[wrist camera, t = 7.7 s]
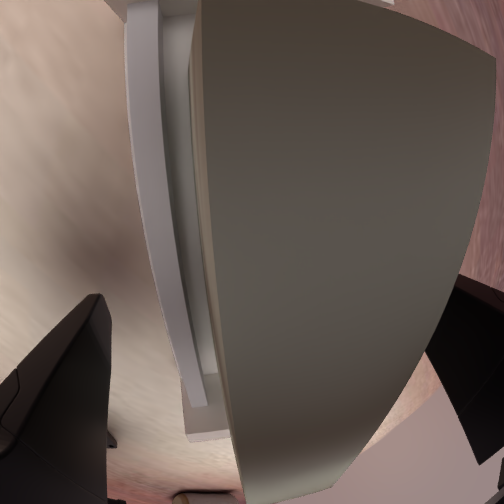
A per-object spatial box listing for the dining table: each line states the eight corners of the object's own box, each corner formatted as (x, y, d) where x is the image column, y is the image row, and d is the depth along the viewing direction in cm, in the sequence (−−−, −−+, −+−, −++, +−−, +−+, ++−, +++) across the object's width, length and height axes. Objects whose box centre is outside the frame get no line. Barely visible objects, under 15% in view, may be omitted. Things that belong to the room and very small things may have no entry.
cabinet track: (297, 349, 18) (326, 416, 14) (182, 367, 17) (189, 442, 12) (316, 7, 9) (391, -25, 4) (132, 8, 7) (99, -42, 3)
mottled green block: (274, 339, 15) (331, 487, 8) (214, 349, 14) (247, 508, 7) (280, 68, 9) (496, 58, 2) (187, 70, 8) (200, -16, 1)
